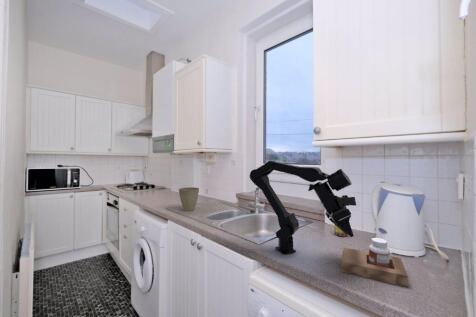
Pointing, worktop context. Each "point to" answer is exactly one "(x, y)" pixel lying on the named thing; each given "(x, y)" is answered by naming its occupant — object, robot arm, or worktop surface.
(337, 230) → the sauce bottle
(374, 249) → the pill bottle
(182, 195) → the plant pot
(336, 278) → the worktop surface
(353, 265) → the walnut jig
